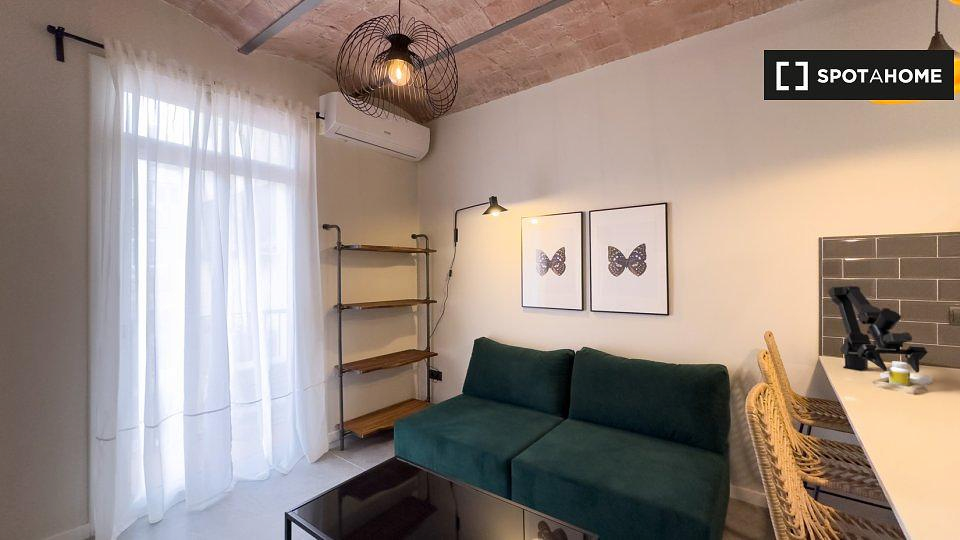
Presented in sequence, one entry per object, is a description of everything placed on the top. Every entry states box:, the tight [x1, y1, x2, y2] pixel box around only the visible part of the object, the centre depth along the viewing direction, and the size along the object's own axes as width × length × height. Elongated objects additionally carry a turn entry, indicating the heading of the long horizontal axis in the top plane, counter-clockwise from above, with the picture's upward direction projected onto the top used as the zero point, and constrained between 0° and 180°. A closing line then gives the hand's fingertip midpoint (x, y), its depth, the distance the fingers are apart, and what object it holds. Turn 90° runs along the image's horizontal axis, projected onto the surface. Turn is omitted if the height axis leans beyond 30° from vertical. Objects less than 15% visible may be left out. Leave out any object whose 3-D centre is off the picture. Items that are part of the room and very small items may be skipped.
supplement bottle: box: [888, 360, 911, 387], centre depth 147 cm, size 5×5×10 cm
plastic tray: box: [879, 370, 933, 386], centre depth 155 cm, size 11×11×2 cm
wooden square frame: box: [872, 377, 928, 395], centre depth 147 cm, size 11×11×2 cm
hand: (901, 371), depth 145 cm, fingers open, 9 cm apart
